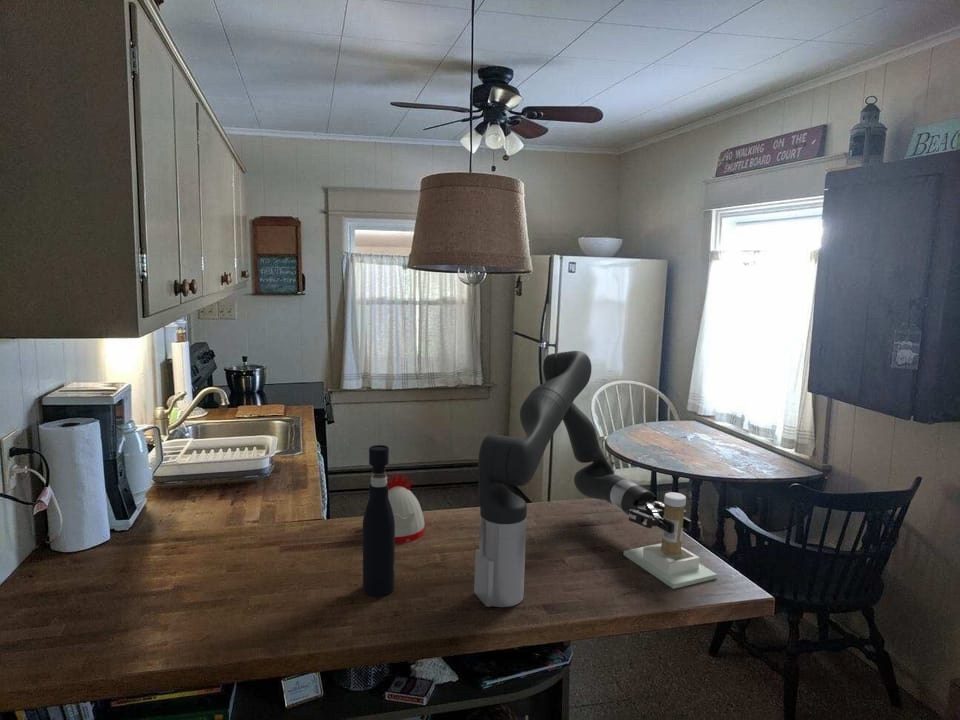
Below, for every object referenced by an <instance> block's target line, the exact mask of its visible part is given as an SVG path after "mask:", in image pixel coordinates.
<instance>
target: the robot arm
mask: <svg viewBox="0 0 960 720" xmlns="http://www.w3.org/2000/svg"><path fill="white" fill-rule="evenodd" d="M592 367H593V366H592V362H591V359H590V357H589V355H588V354H586V353H585V352H583V351H579V350H571V351H562V352H554V353H551V354H548V355H546V356H545V357H544V360H543V365H542V369H543V370H542V371H543V377H544V381H545V382H543V383H541V384H539V385H538V386H537V387H535V388H534V389H532V390H531V392H529V394H528V395H527V397H526V398H525V400H524V401H523V403H522V404H521V407H520V410H519V419H520V424H521V427H522V428H523V431H524V432H525V435H526V436H525V437H516V436H507V435H501V434H488V435H486V436H485V437H484V438H483V440H482V442H481V444H480V447H479V451H478V461H477V462H478V464H477V467H478V468H477V469H478V470H477V471H478V473H477V474H478V502H479V503H478V504H479V507H480V508H479V511H480V514H479V515H480V516H479V544H478V545H479V548H476V549H475V551H474V552H475V555H474V587H473V588H474V590H473V591H474V594H475V596H476V597H477V598H478V599H479V600H480V602H482V604H483V605H484V606H485V607H488V608H490V607H496V608H509V607H514V606H516V605H518V604H520V603H521V602H522V601H523V599H524V589H525V566H526V565H525V564H526V562H525V561H526V542H527V538H526V537H527V516H528V515H527V514H528V513H527V511H528V509H527V508H528V504H527V503H526V501H525V500H524V498H522V497H521V496H519V495H517V494H515V493H514V492H513V491H511V490H510V489H508V488H509V487H507V486H506V485H510V486H515V487H523V486H526V485H527V484H529V483H530V482H531V480H532V479H533V477H534V476H535V474H536V471H537V470H538V467H539V465H540V463H541V461H542V458H543V455H544V453H545V451H546V449H547V446H548V445H549V442H550V441H551V440H552V437H553V436H554V434H555V433H556V431H557V429H558V427H560V425H561V423H562V422H563V424H564V426H565V429H566V432H567V435H568V439H569V442H570V446H571V449H572V453H573V457H574V459H575V460H576V461H577V462H578V463H581V464H582V463H583V464H587V463H590V464H588V465H586V466H585V467H583V468H581V469H579V470H578V471H577V472H576V473H575V474H574V477H573V483H574V486H575V488H576V490H577V491H579V493H581V494H582V495H583V496H586V497H587V498H592V499H594V500H596V499H597V500H601V501H607V503H610V505H613V506H614V507H616V508H617V509H618V510H619V511H621V512H622V513H624V514H625V515H627V516H628V521H630V522H632V523H634V524H637V525H639V526H643V527H645V528H647V529H652V528H653V527H654V528H655V529H661V530H662V529H663V530H664V531H666V532H668V533H670V534H672V533H674V524H673V523H671V522H669V521H668V520H666V519H664V518H663V516H664V508H665V503H664V502H660V501H659V500H658V499H657V497H656V495H655V493H653V492H652V491H650V490H648V489H647V488H644V487H643V486H640V485H639V484H637V483H635V482H632V481H629V480H627V479H626V478H624V477H622V476H620V475H617V474H615V473H614V469H613V468H612V466H611V464H610V463H609V462H608V460H607V458H606V457H605V454H604V453H603V451H602V449H601V447H600V443H599V439H598V436H597V434H598V433H597V430H596V428H595V427H594V425H593V422H592V421H591V420H590V419H589V418H588V416H587V415H586V414H585V413H584V412H583V411H582V410H581V409H580V408H579V407H578V406H577V405H576V404H575V402H574V401H575V399H576V398H578V396H579V395H580V394H581V392H582V391H583V390H584V389H585V388H586V387H587V386H588V383H589V381H590V379H591V375H592ZM591 462H592V463H591ZM686 514H687V510H686V509H684V518H683V529H685V530H686V531H691V530H692V529H693V527H692V526H693V521H692V520H691V519H689V518H688V517H686Z"/></svg>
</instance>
